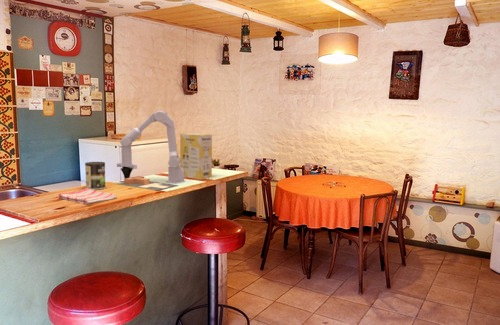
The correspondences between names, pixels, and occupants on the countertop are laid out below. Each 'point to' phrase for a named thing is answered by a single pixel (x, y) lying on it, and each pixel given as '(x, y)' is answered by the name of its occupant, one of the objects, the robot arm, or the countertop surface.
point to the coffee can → (95, 175)
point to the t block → (136, 180)
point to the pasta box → (196, 155)
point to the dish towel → (87, 196)
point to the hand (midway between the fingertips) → (127, 179)
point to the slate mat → (151, 185)
